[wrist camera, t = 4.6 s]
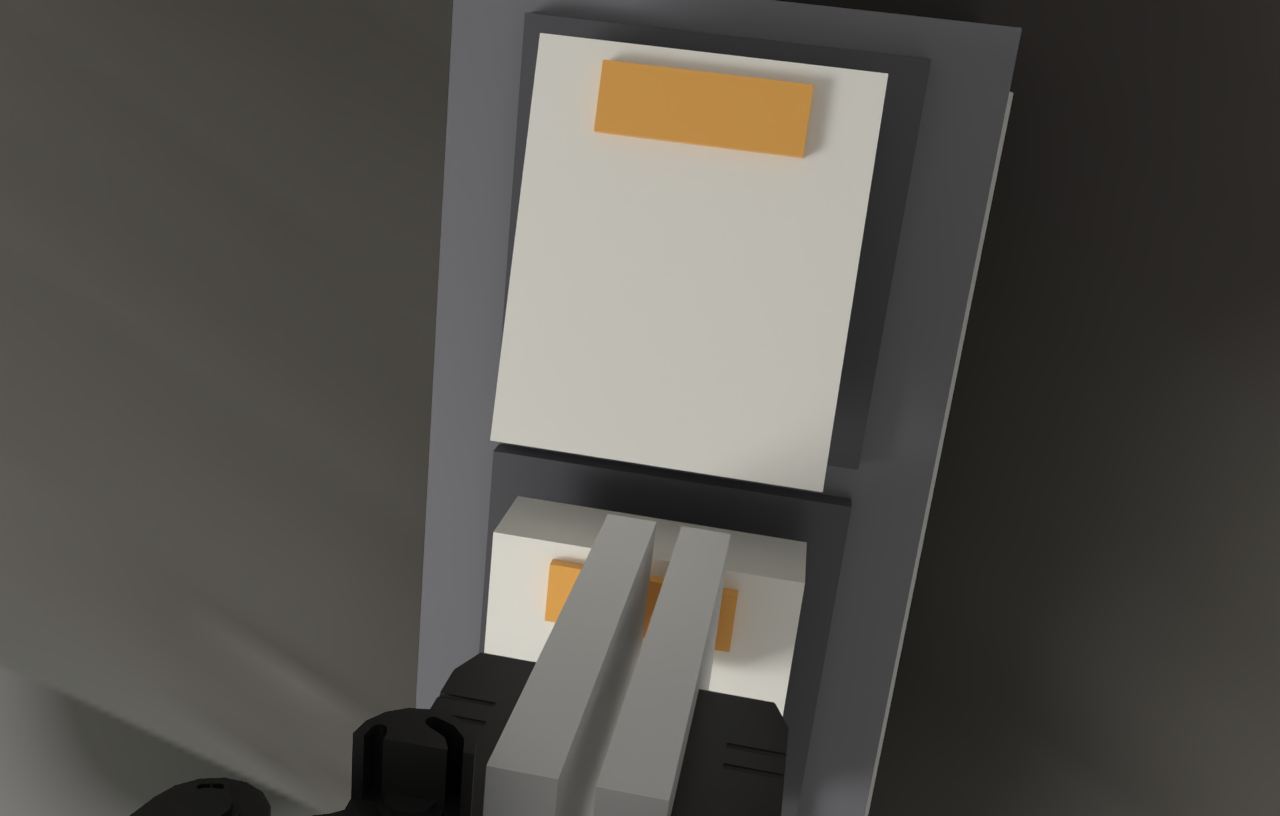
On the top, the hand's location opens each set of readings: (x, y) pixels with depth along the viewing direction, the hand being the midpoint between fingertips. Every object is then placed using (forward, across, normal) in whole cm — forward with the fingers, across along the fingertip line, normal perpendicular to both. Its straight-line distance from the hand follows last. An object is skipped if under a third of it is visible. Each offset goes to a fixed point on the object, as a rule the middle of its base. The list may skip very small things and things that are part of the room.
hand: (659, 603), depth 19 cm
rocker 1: (+2, 0, +5) cm, 5 cm away
